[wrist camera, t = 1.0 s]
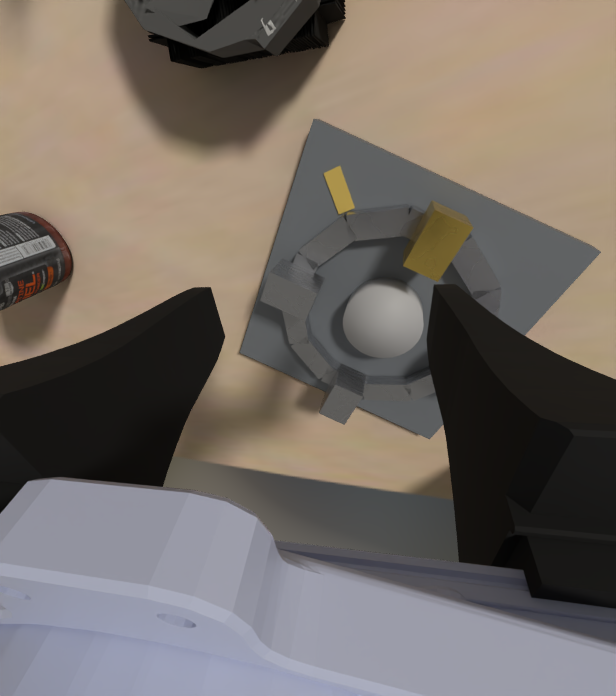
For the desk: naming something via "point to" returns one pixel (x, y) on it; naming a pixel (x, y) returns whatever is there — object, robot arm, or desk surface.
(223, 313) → the desk surface
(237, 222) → the desk surface
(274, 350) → the cap plate
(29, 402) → the robot arm
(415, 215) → the ring nut
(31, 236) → the supplement bottle
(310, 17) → the cpu cooler
